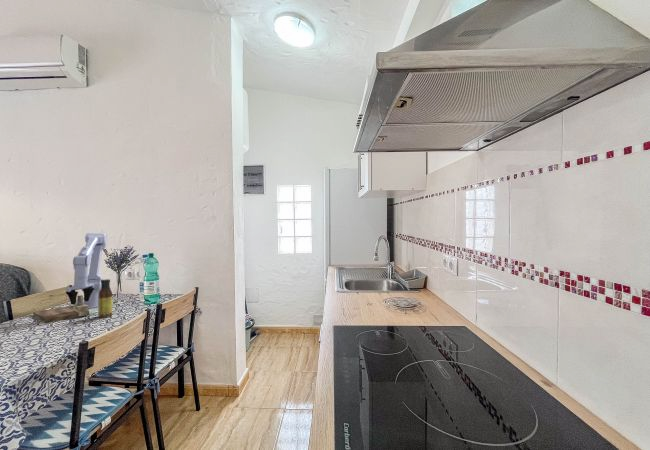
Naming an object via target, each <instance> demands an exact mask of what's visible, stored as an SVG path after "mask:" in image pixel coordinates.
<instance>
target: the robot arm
mask: <svg viewBox="0 0 650 450" xmlns="http://www.w3.org/2000/svg"><path fill="white" fill-rule="evenodd" d="M84 238H85V239H84V240H85V243H86V244H85V246H83V247H82V248H81V249H80V250H79V253H78V254H77V255H75V256H74V257H73V259H72V265H73V270H74V278H73V285H72V286H69V287H65V288H66V289H65V294H66V295H67V297H68V298H69V302H70V305H72V306H73V305H77V296H78V294H79V290H81V292H83V304H84V305H89V308H88V309H93V308H98V298H99V291H100V290H101V280H102V279H104V278H103V277H102V276H101V275H100V273H99V271H100V267H101V259H102V252H103V249H105V248H106V247H107V244H108V243H107V242H108V235H107V234H106V233H105V232H104V233H101V232H100V233H99V232H96V233H95V232H87V233H86V234H85V237H84Z"/></svg>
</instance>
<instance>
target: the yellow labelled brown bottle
mask: <svg viewBox="0 0 650 450" xmlns="http://www.w3.org/2000/svg"><path fill="white" fill-rule="evenodd" d="M110 285H111V279H110V278H103V279H102V280H101V290H100V291H99V298H98V307H97V309H98V318H101V319H102V318H109V317H112V316H113V305H114V304H113V302H114V301H113V293H112V292H113V291H112V290H111V287H110Z"/></svg>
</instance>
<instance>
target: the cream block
mask: <svg viewBox="0 0 650 450" xmlns="http://www.w3.org/2000/svg"><path fill="white" fill-rule="evenodd" d="M72 306H73V311H75V312H78V316H81V317H86V316H85V315H87V316H89V315H88V311H89V309H90V308H89V305H84V294H82V295H77V297H76V304H75V305H73V304H72Z"/></svg>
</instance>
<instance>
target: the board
mask: <svg viewBox="0 0 650 450" xmlns="http://www.w3.org/2000/svg"><path fill="white" fill-rule="evenodd" d="M33 315H34V316H33ZM32 316H33V317H35V318H36V317H37V318H36V319H38V318H39V319H38V320H40V321H42V322H44V323H47V322H48V323H53V321H54V322H59V321H63V320H64V321H65V320H69V319H75V317H76V318H81V317H82V316H78V312H75V311H73V305H69V306H63V307H56V308H51V309H44V310H38V311H33V313H32ZM86 316H87V317H88V316H90V311H89V310H88V315H85V316H84V317H86ZM58 320H59V321H58Z"/></svg>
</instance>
